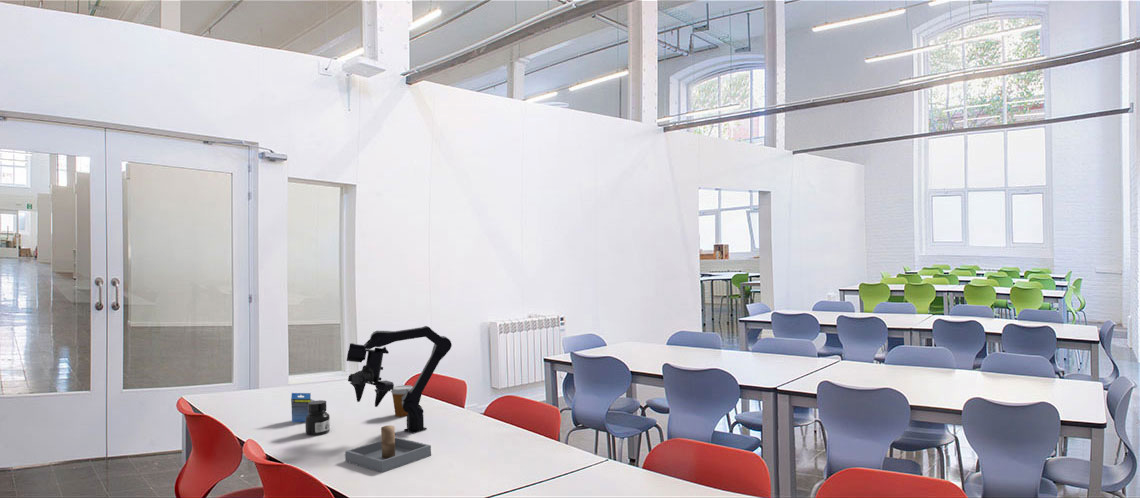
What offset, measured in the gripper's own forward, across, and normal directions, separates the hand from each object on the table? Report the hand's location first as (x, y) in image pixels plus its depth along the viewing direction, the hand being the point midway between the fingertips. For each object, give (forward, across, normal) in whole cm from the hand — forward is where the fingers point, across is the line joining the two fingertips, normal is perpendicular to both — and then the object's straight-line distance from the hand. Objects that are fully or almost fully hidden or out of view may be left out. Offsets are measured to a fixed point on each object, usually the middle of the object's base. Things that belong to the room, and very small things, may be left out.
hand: (367, 404), depth 247 cm
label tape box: (+17, -41, +8) cm, 45 cm away
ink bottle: (+16, -20, -3) cm, 26 cm away
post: (+10, +29, -17) cm, 35 cm away
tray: (+11, +29, -17) cm, 35 cm away
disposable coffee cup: (+9, -8, +31) cm, 33 cm away
